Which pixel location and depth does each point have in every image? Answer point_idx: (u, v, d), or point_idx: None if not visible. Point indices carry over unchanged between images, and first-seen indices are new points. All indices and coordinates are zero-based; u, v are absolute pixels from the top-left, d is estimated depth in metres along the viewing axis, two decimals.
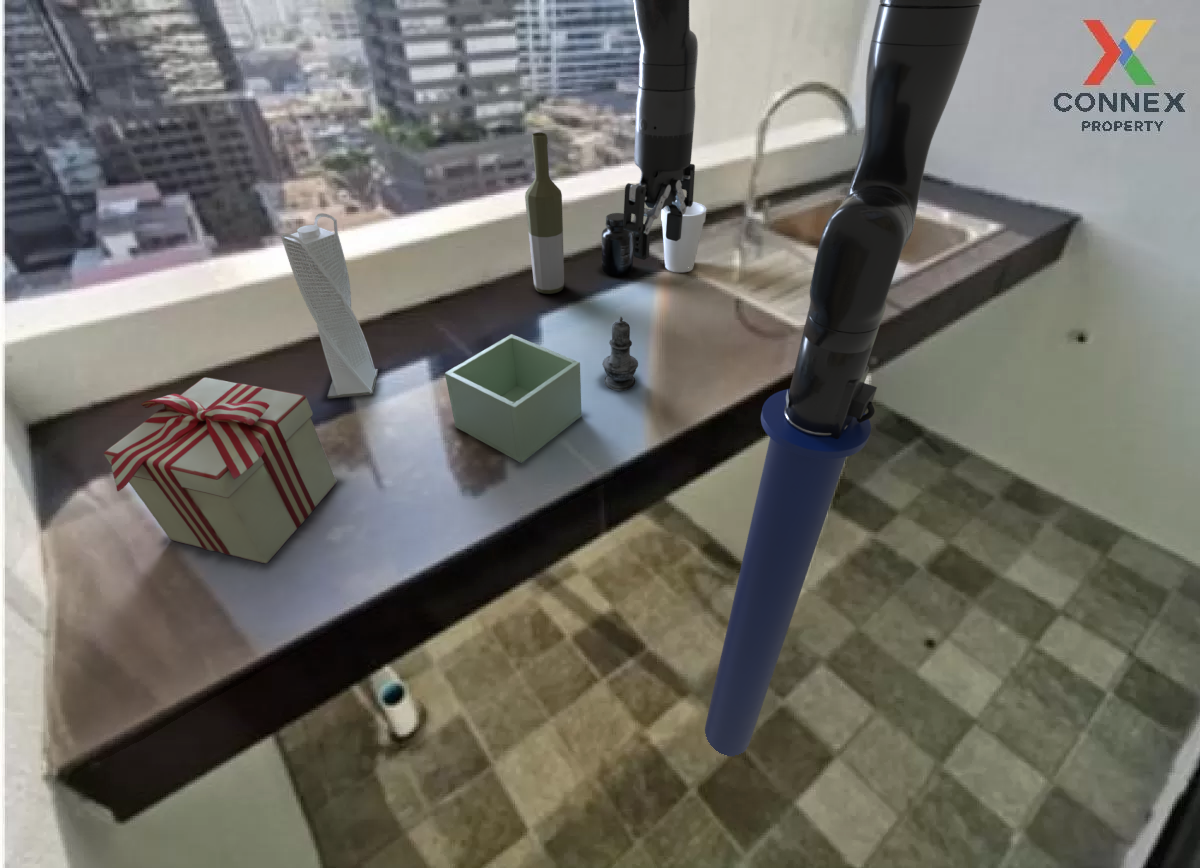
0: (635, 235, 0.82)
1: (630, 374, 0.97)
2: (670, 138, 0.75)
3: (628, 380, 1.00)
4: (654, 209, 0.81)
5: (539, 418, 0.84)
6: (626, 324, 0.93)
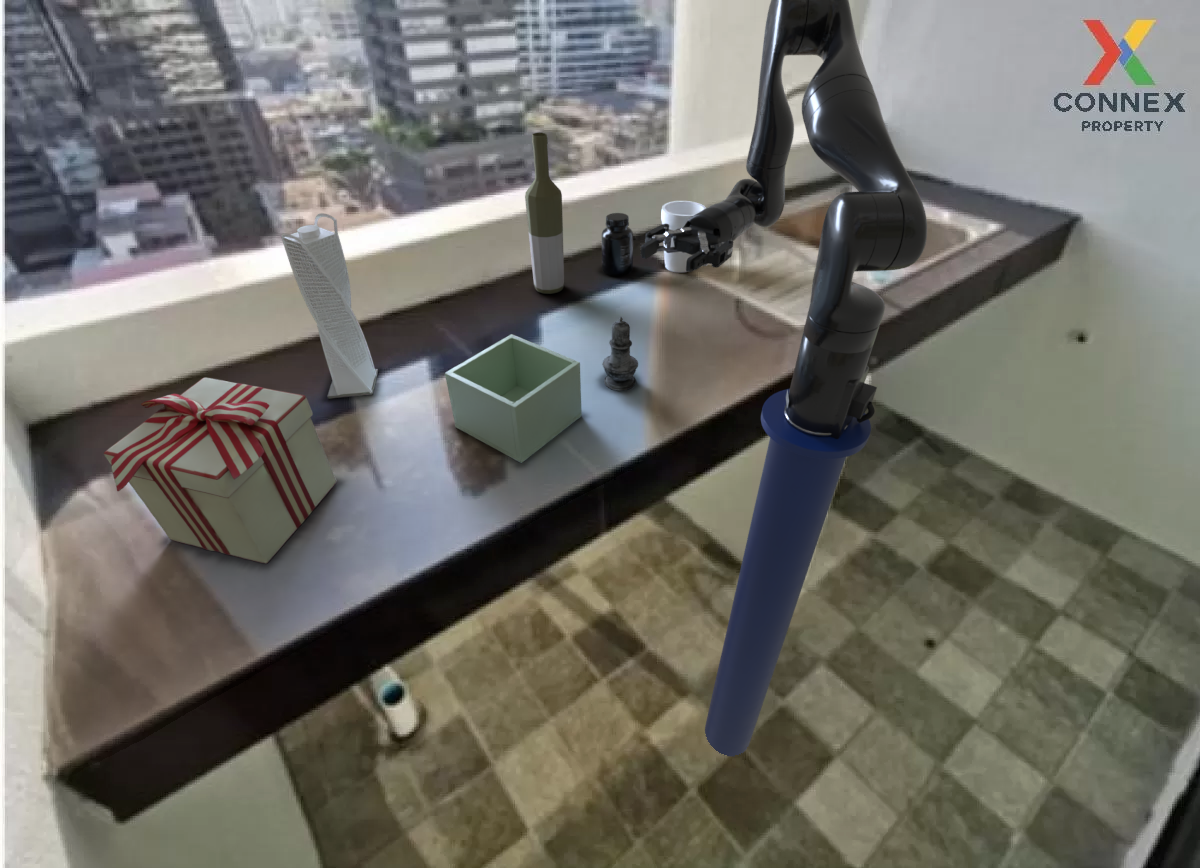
0: None
1: (630, 374, 0.97)
2: (701, 211, 1.06)
3: (628, 380, 1.00)
4: None
5: (539, 418, 0.84)
6: (626, 324, 0.93)
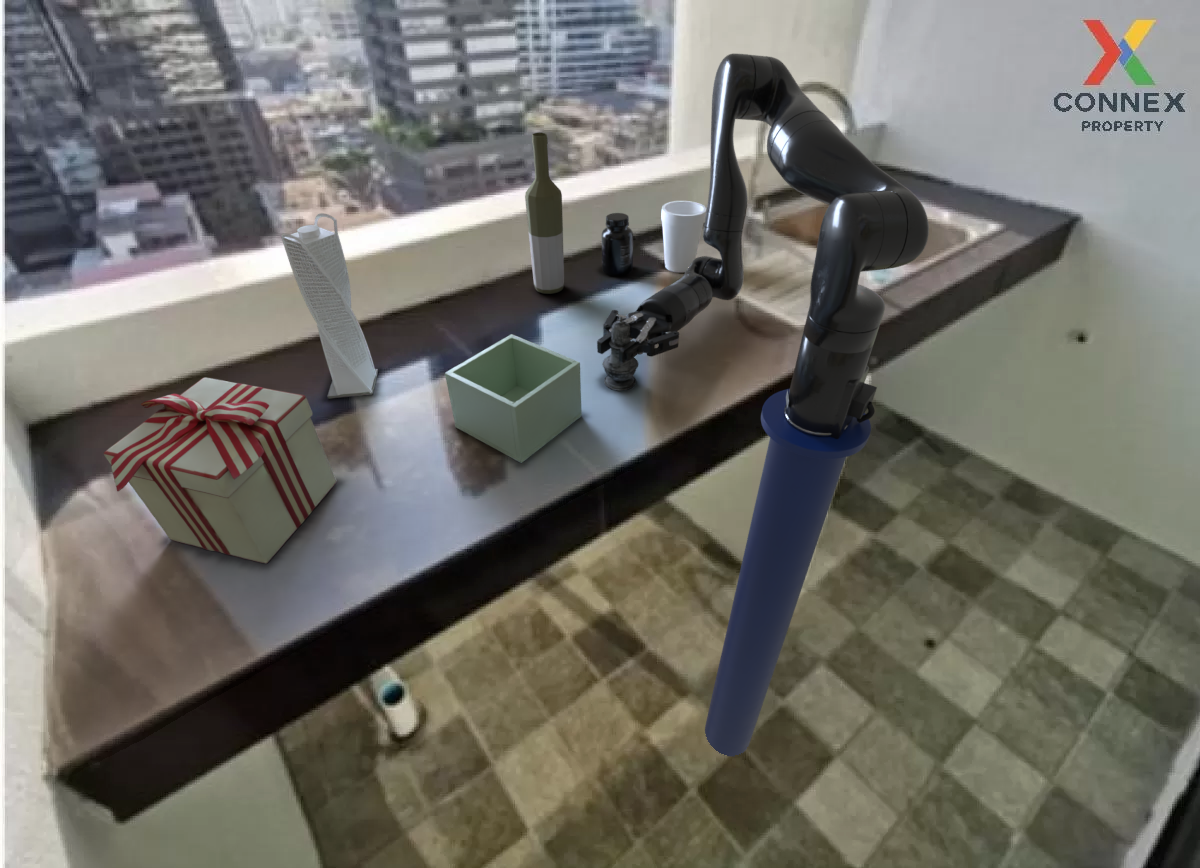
0: None
1: (630, 374, 0.97)
2: (655, 293, 1.04)
3: (628, 380, 1.00)
4: None
5: (539, 418, 0.84)
6: (626, 324, 0.93)
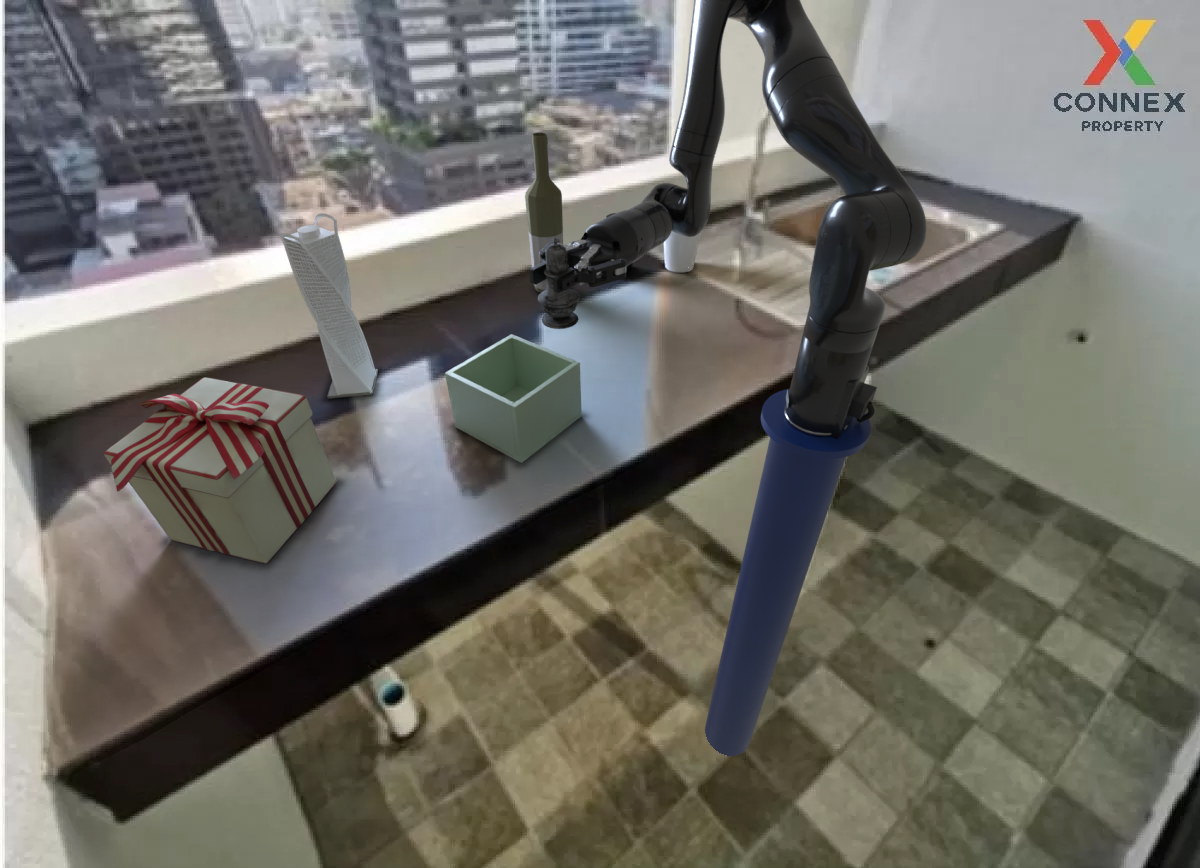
0: None
1: (569, 309, 0.83)
2: None
3: (569, 318, 0.86)
4: None
5: (539, 418, 0.84)
6: (562, 247, 0.79)
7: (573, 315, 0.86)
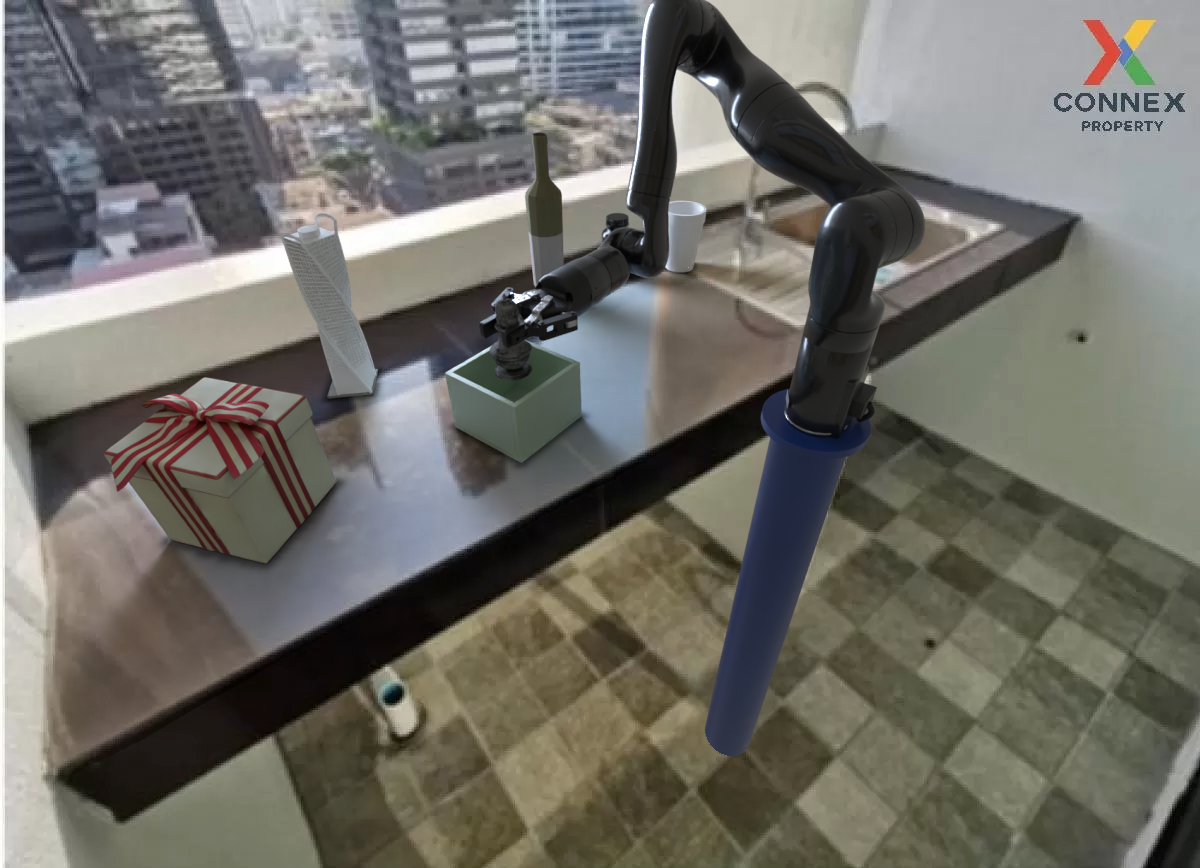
0: None
1: (521, 361, 0.83)
2: None
3: (522, 368, 0.86)
4: None
5: (539, 418, 0.84)
6: (511, 302, 0.79)
7: (526, 365, 0.86)
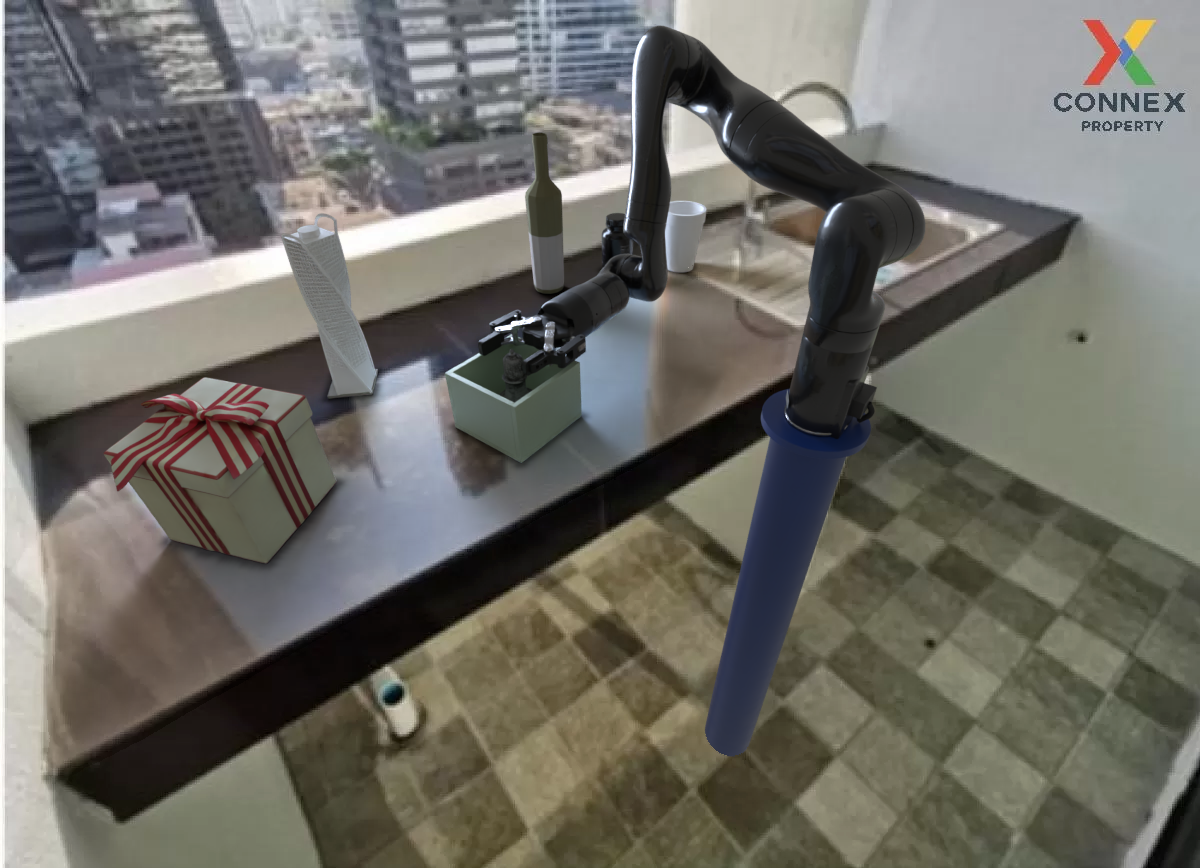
0: None
1: None
2: None
3: None
4: None
5: (539, 418, 0.84)
6: (518, 357, 0.85)
7: None
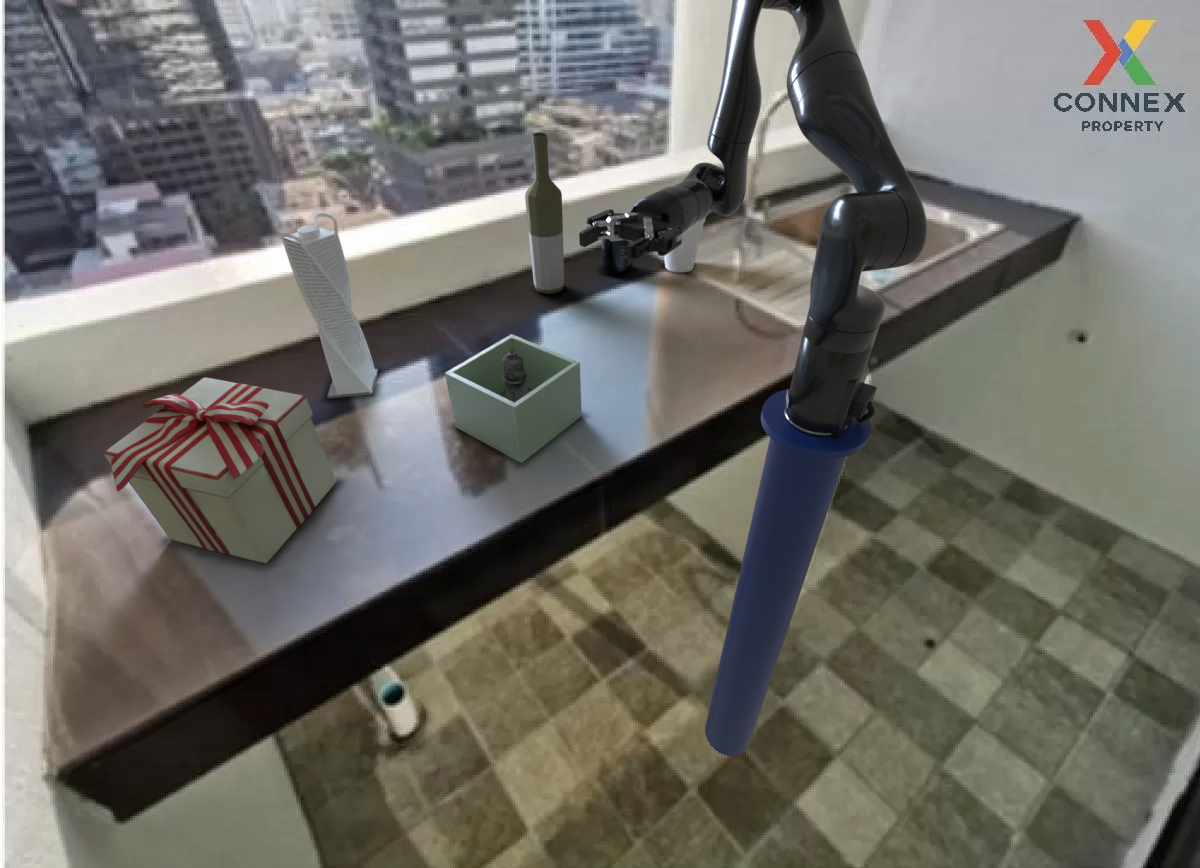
0: None
1: None
2: None
3: None
4: None
5: (539, 418, 0.84)
6: (518, 357, 0.85)
7: None
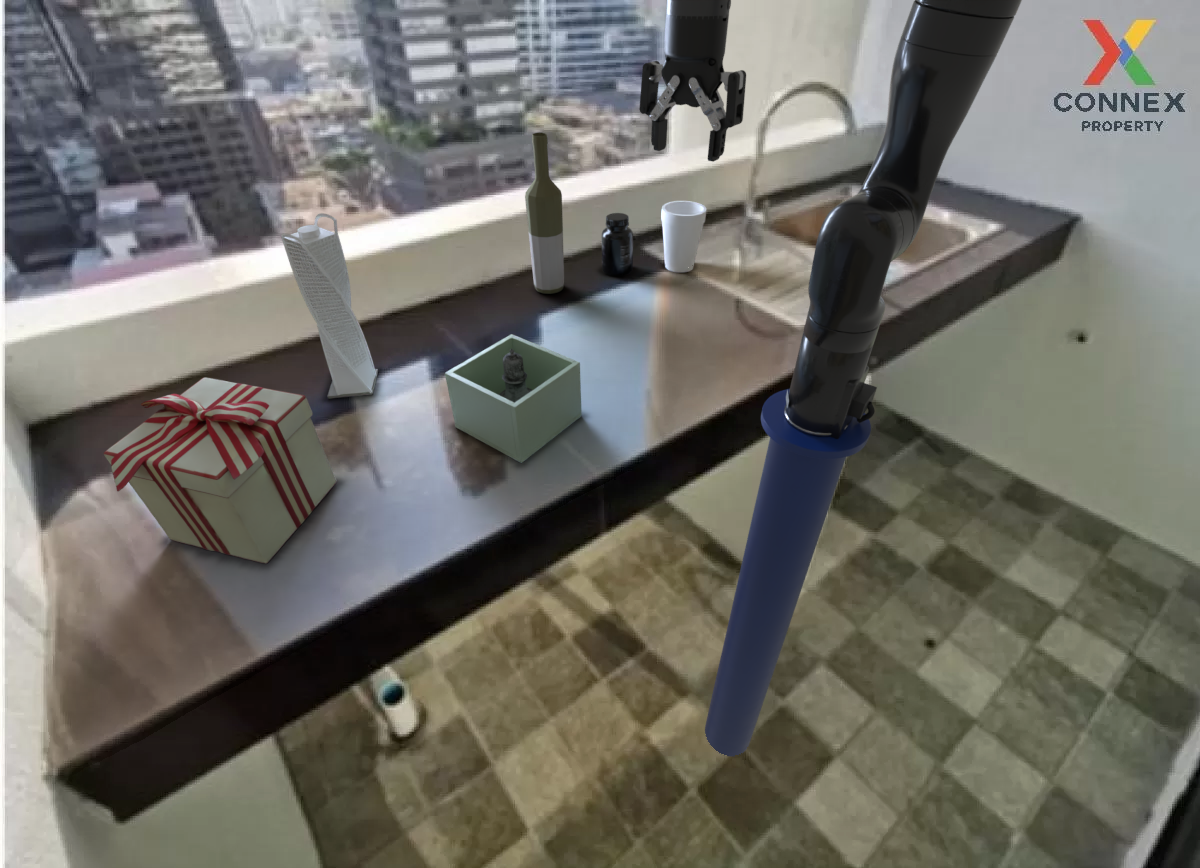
0: None
1: None
2: (666, 16, 0.72)
3: None
4: None
5: (539, 418, 0.84)
6: (518, 357, 0.85)
7: None
